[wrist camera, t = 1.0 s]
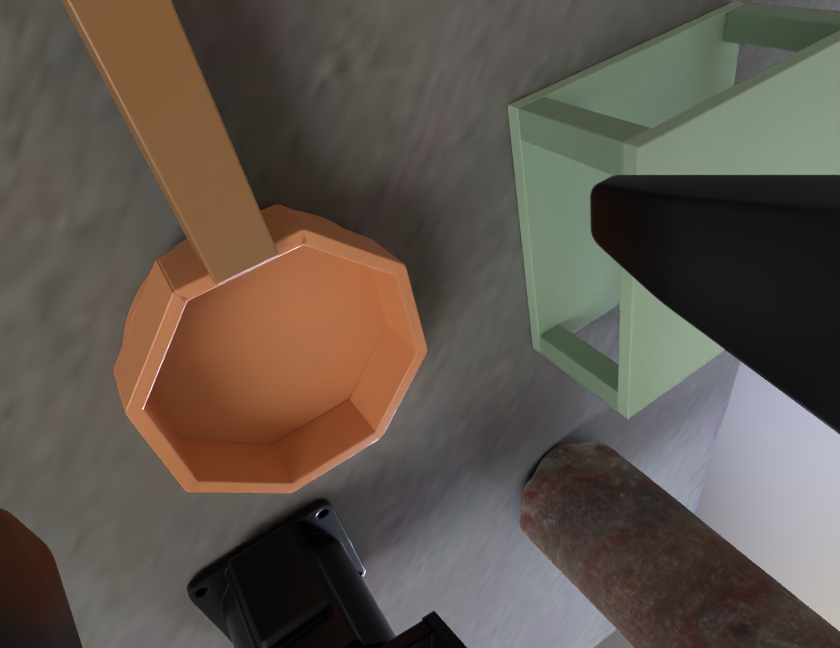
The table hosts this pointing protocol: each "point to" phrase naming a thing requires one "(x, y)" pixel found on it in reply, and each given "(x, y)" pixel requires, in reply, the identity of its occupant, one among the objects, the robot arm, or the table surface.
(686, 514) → the candle
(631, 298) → the shelf
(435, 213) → the table surface
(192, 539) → the table surface
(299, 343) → the pan
